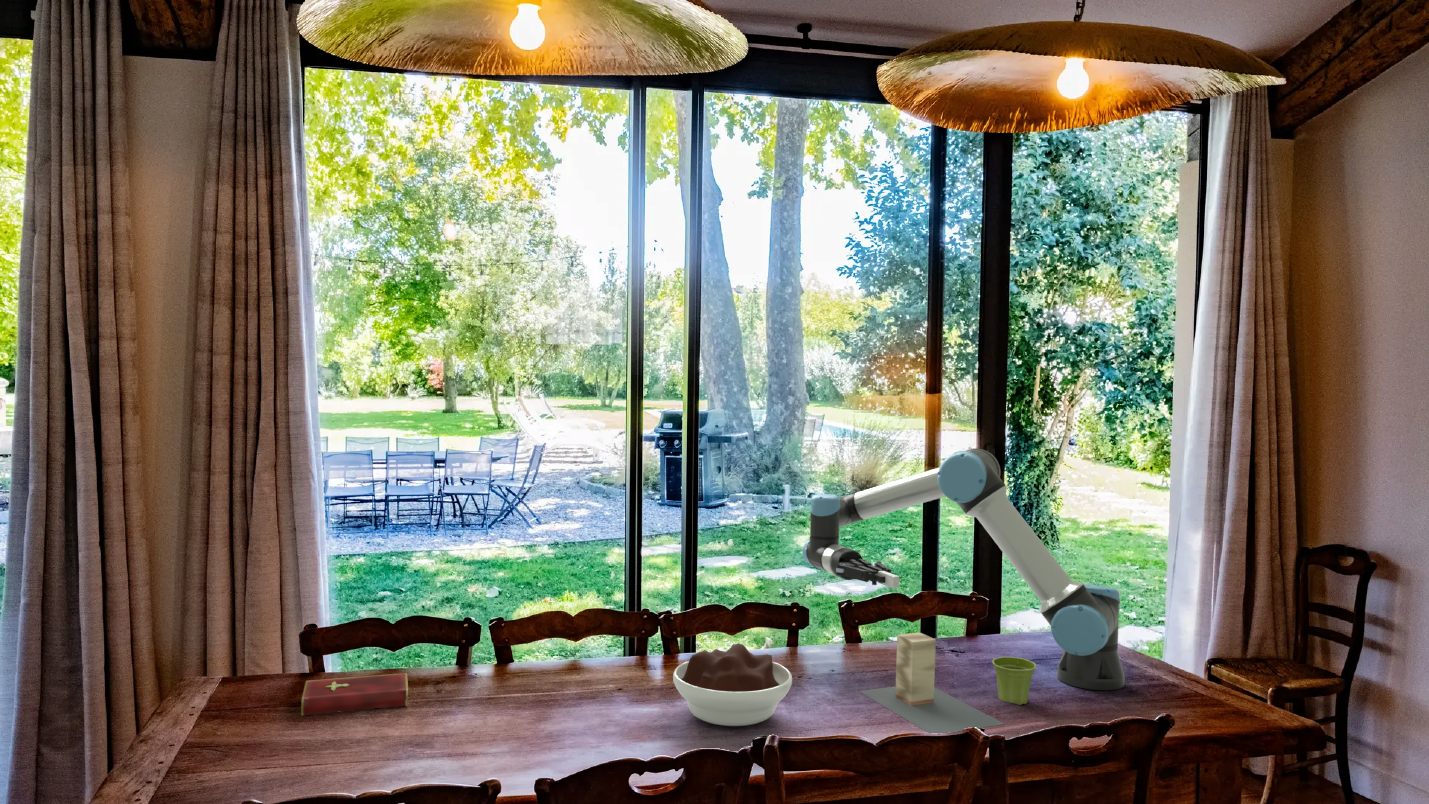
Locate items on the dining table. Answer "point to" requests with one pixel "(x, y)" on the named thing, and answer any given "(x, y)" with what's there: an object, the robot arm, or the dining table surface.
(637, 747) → the dining table surface
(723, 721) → the chocolate pudding bowl
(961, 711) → the rubber mat
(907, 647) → the birch block
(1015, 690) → the plant pot
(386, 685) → the hardcover book
